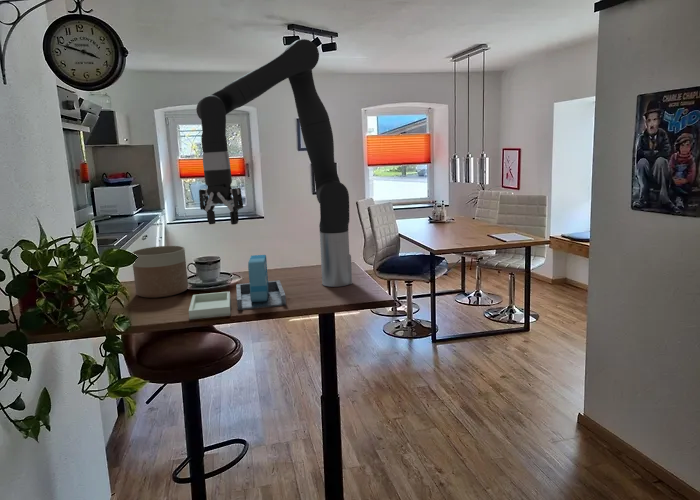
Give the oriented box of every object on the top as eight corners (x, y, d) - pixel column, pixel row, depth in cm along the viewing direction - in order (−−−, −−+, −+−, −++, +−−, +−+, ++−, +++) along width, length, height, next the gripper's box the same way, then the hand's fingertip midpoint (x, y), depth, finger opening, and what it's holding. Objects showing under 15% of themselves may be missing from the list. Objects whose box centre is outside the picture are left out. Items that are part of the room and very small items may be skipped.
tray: (230, 299, 157) (229, 291, 156) (230, 315, 141) (229, 306, 140) (193, 302, 155) (192, 294, 154) (189, 319, 139) (188, 310, 138)
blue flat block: (266, 302, 150) (264, 261, 148) (250, 303, 149) (247, 262, 147) (268, 291, 162) (266, 253, 159) (253, 292, 161) (251, 254, 159)
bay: (280, 289, 166) (279, 280, 165) (286, 305, 148) (285, 295, 148) (237, 293, 163) (236, 284, 162) (237, 310, 145) (236, 299, 145)
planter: (187, 283, 179) (183, 244, 176) (190, 294, 164) (185, 251, 161) (137, 289, 173) (132, 248, 171) (135, 301, 159) (130, 257, 156)
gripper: (245, 166, 151) (250, 222, 154) (207, 168, 157) (213, 222, 160) (227, 168, 144) (233, 226, 147) (189, 170, 151) (195, 225, 154)
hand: (223, 224), depth 154 cm, fingers open, 8 cm apart
